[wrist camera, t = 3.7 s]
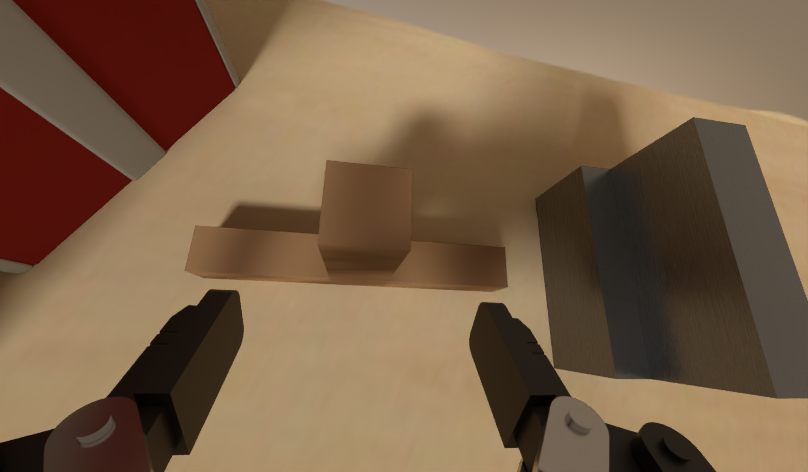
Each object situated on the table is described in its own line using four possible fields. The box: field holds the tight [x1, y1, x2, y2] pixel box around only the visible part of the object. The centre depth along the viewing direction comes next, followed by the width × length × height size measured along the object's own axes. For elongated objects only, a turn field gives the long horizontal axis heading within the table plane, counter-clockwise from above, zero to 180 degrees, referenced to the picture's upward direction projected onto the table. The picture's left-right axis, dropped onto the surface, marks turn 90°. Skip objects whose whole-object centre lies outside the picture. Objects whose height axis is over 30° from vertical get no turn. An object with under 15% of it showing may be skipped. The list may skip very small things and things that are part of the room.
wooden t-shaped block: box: [185, 160, 508, 292], centre depth 15 cm, size 18×3×10 cm, turn 89°
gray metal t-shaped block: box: [536, 117, 808, 398], centre depth 18 cm, size 12×7×10 cm, turn 178°
